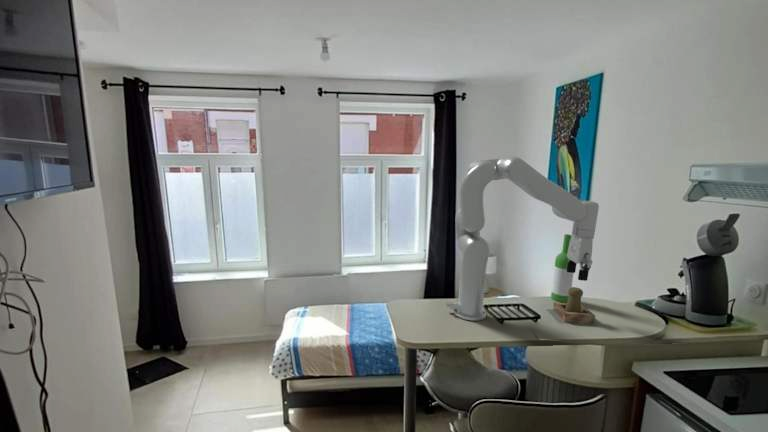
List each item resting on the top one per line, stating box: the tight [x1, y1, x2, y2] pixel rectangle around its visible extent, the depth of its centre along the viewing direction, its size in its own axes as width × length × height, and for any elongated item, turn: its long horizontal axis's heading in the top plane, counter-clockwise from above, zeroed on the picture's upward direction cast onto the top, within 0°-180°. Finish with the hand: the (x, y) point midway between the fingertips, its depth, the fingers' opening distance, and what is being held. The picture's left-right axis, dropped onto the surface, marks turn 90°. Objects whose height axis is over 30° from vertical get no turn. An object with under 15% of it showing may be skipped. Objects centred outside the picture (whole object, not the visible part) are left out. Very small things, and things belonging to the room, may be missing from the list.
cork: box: [565, 286, 584, 313], centre depth 142 cm, size 6×6×11 cm
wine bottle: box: [550, 233, 574, 303], centre depth 160 cm, size 8×8×30 cm
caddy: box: [552, 302, 596, 324], centre depth 143 cm, size 11×11×4 cm
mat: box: [545, 308, 597, 327], centre depth 144 cm, size 14×13×1 cm
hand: (576, 276), depth 141 cm, fingers open, 9 cm apart
